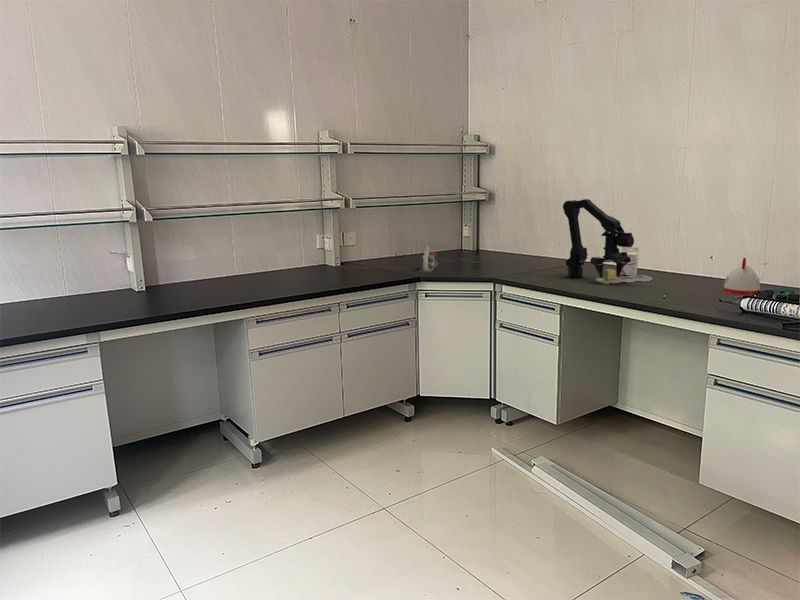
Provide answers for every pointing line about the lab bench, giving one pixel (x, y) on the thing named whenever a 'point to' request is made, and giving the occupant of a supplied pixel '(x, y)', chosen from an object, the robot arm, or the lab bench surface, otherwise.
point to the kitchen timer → (742, 280)
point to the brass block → (609, 274)
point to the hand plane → (428, 260)
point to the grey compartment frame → (625, 279)
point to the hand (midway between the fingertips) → (609, 277)
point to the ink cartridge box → (632, 265)
